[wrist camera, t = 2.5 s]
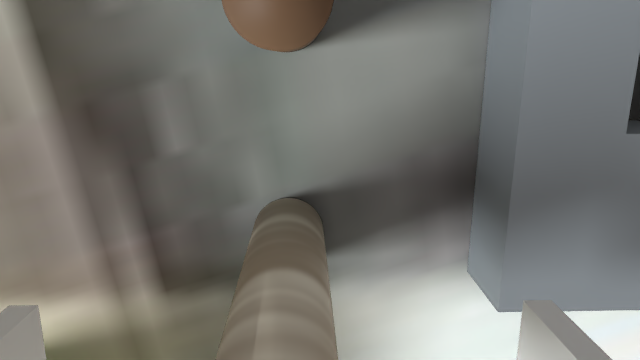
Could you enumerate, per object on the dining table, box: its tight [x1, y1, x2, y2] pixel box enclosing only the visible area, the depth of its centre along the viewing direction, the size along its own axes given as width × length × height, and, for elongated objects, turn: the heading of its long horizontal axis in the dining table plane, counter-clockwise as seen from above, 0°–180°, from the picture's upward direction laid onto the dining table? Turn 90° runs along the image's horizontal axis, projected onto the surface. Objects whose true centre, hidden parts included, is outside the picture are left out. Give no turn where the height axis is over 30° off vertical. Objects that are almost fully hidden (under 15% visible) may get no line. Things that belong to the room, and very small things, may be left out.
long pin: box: [215, 198, 338, 360], centre depth 14 cm, size 3×3×14 cm
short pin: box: [222, 0, 334, 52], centre depth 15 cm, size 3×3×6 cm
